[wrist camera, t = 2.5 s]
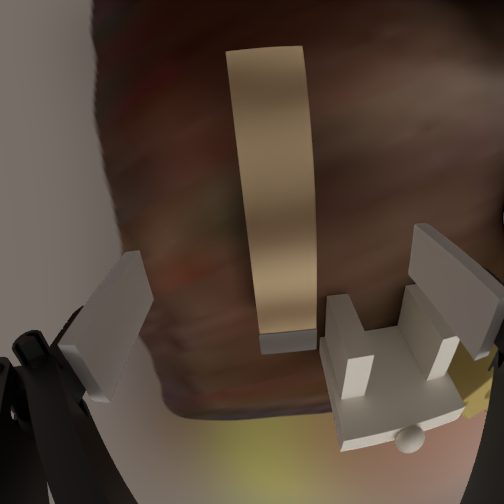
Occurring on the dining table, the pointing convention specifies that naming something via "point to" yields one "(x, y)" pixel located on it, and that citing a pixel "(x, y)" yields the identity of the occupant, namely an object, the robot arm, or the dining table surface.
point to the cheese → (472, 379)
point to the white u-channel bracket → (389, 373)
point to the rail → (277, 191)
